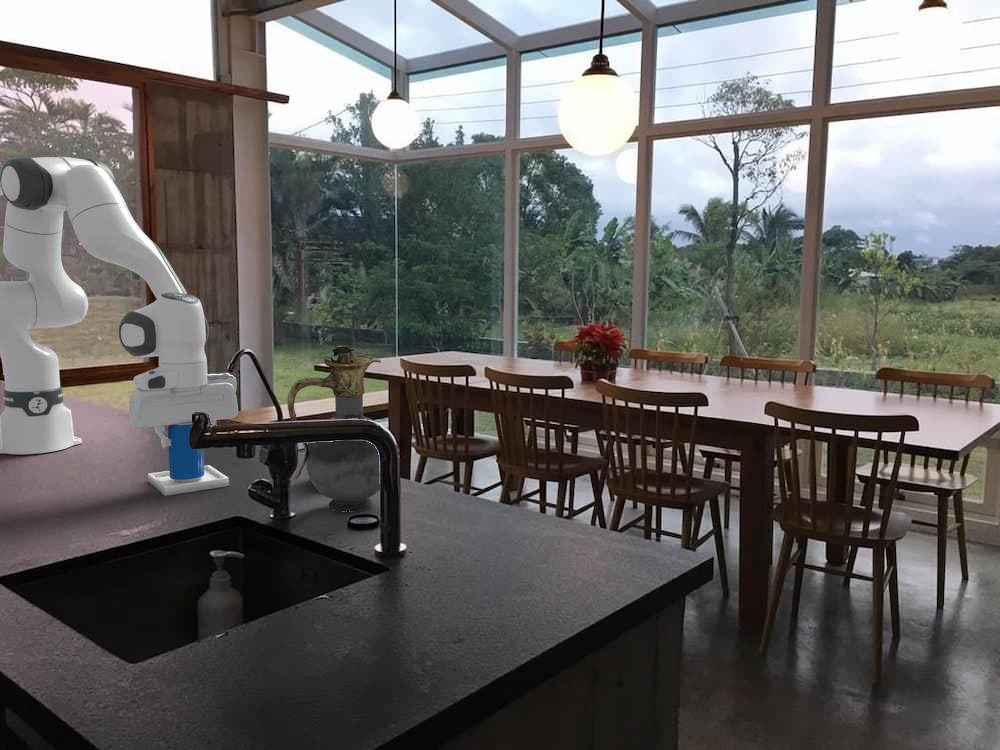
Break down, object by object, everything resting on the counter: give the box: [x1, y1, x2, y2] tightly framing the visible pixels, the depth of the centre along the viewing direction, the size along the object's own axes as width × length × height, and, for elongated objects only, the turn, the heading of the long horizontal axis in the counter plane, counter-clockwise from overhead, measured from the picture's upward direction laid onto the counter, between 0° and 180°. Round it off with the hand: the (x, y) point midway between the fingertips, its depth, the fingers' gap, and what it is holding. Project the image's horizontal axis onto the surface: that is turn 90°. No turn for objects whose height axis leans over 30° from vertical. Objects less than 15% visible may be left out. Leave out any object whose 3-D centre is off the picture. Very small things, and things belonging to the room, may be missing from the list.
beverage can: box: [167, 423, 205, 483], centre depth 161 cm, size 6×6×12 cm
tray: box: [147, 464, 230, 497], centre depth 162 cm, size 12×12×2 cm
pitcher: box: [287, 345, 381, 513], centre depth 146 cm, size 11×19×30 cm, turn 121°
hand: (186, 444), depth 161 cm, fingers open, 6 cm apart
